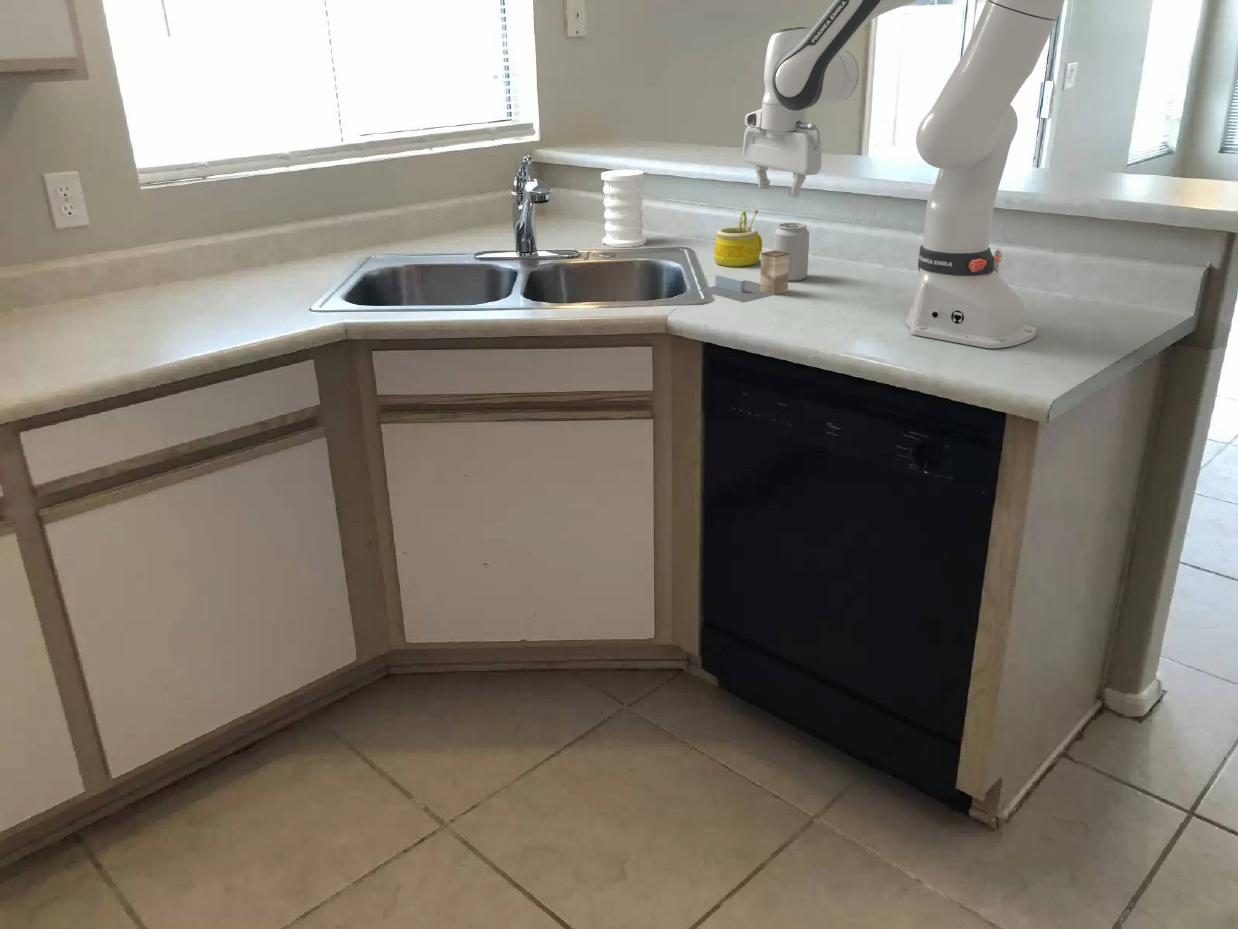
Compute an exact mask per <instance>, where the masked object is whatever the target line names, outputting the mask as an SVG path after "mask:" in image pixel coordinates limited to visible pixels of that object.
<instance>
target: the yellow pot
mask: <svg viewBox="0 0 1238 929" xmlns="http://www.w3.org/2000/svg"><path fill="white" fill-rule="evenodd" d="M758 213H759V211H758V209H755V211H754V215H753V217H752V219H751V221H750V224H749V226H747V222H748V220H747V217H748V216H747V213H746V211H745V210H742V211H741V213H740V215H739V216H740V217H739V226H727V227H722V228H720V229H718V230H717V231H716V233H715V235H716V238H715V243H714V248H713V259H714V262H715V264H718V265H719V266H722V267H727V268H728V267H730V268H743V267H744V268H745V267H748V266H749V267H750V266H752V265H755V264H757V263H758V262H759V260H760V258H761V253H762V251H763V250H762V249H763V240H762V237H761V235H760V234H759V232H758V231H757V229H756V228H753V227H752V225H753V223H754V220H755V218H756V216H757V214H758Z"/></svg>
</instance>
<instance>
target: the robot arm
mask: <svg viewBox="0 0 1238 929" xmlns="http://www.w3.org/2000/svg"><path fill="white" fill-rule="evenodd" d="M917 1H918V0H834V1H833V3H832V4H831V5H830V6H829V7H828V9H827V10H826V11H825V12H824V14H822V16H821V17H820V19H819V20H818V21H817V22H816V23H815V25H814V26H812V27H813V28H811V29H810V28H809V27H806V26H799V27H798V26H795V27H792V28H791V27H790V28H783V29H779V30H777V31H775V32H774V33H773V34H772V35H771V36H770V38H769V40H768V45H767V47H766V48H767V49H766V53H765V61H764V72H763V82H764V85H765V86H764V93H763V94H764V95H763V98H762V100H761V101H762V103H761V108H760V109H757V110H755V111H752V112H750V113H747V114H745V116H744V125H745V126H747V127H746V128H745V131H744V134H743V146H742V155H743V159H744V162H745V163H747V164H751V165H755V173H756V176H757V180H758V189H760V190H768V189H770V183H771V180H770V179H769V178H768V174H767V171H768V169H769V168H770V169H774V170H779V171H784V172H788V173H792V179H793V181H792V185H790V186H788V192H787V193H788V196H789V197H800V195H801V189H802V188H801V187H802V186H803V184H804V183H805V181H806V179H807V177H806V176H813V175H818V174H819V172H820V171H821V169H822V141H821V140H822V139H821V131H820V130H819V129H818V127H817V124H815V123H811V122H810V123H809V122H808V116H809V115H808V114H809V113H808V112H809V108H812V107H819V106H826V105H830V104H836V103H839V102H843V101H844V100H846V99H848V98H849V97H850V96H852V94H853V93H854V91H855V89H856V87H857V84H858V80H859V66H858V63H857V60H856V59H855V58H856V57H854V55H853V54H852V53H851V52H849V51H847V50H845V48H846V47H847V45H848V44H849V43H850V42H851V40H853V38H854V37H855V36H856V35H857V34H858V32H859V31H860V30H861V29H862V28H863V27H864V26H865V25H866V24H868V23H869V22H870V21H872V20H874V19H875V18H877V17H879V16H881V15H883V14H885V13H887V12H890V11H892V10H894V9H898V8H900V7H905V6H907V5H910V4H913V3H915V2H917ZM1064 3H1065V0H986V1H985V3H984V5H983V8H982V11H981V14H980V16H979V18H978V20H977V22H976V25H975V27H974V29H973V33H972V35H971V38H970V39H969V42H968V44H967V46H966V49H965V50H964V52H963V54H962V57H961V58H960V60H959V61H958V63H957V65H956V67H955V69H953V72H952V73H951V75H950V77H949V78H948V80H947V82H946V83H945V85H944V87H943V88H942V90H941V91H940V94H939V95H938V98H937V99H936V101H935V102H934V105H933V106H932V108H931V109H930V110H929V111H928V113H927V114H926V115H925V117H924V118H922V120H921V121H920V124H919V126H918V128H917V131H916V136H915V137H916V138H915V141H916V143H915V144H916V148H917V151H918V154H919V156H920V158H922V160H923V161H924V162H926V163H927V165H930V166H931V167H934V168H936V169H939V171H938V173H937V177H936V178H935V182H934V185H933V189H932V190H931V193H930V194H929V197H928V198H927V202H926V207H925V208H926V209H925V219H924V229H923V230H924V231H923V240H922V244H921V245H920V247H919V253H918V262H917V266H918V267H917V268H918V276H917V277H918V278H917V282H916V288H915V292H914V296H913V300H912V303H911V306H910V309H909V313H908V314H907V317H906V319H905V324H906V326H908V327H909V330H910V331H909V333H910V334H911V335H913V336H919V337H924V338H930V339H936V340H941V341H945V342H946V341H947V342H951V343H956V344H957V343H958V344H962V345H968V346H972V347H980V348H986V349H1002V348H1008V347H1015V346H1017V345H1020V344H1024V343H1026V342H1028V341H1030V340H1032V339H1034V338H1035V337H1036V336H1037V328H1036V327H1034V326H1031V325H1029V324H1025V311H1024V310H1025V309H1024V308H1025V307H1024V302H1023V300H1022V298H1021V297H1020V295H1018V293H1016V291H1014V290H1013V289H1012V288H1011V287H1010V286H1009V285H1008V284H1007V283H1006V281H1005V280H1003V278H1002V276H1000V275H999V274H998V273H997V271H996V267H995V263H999V262H1000V263H1001V261H1002V259H1001V258H1002V257H1003V256H1002V254H998V255H995V256H994V255H993V253H992V250H991V248H990V239H991V238H990V237H991V230H992V225H993V216H994V209H995V204H996V198H997V194H998V190H999V187H1000V184H1001V181H1002V178H1003V175H1004V171H1005V167H1006V164H1007V161H1008V160H1007V159H1008V156H1009V151H1010V148H1011V145H1012V142H1013V140H1014V139H1015V136H1016V133H1017V130H1018V126H1019V123H1018V116H1017V113H1016V110H1015V108H1014V106H1012V104H1011V103H1012V102H1013V100H1014V99H1015V97H1016V96H1017V94H1018V93H1019V91H1020V90H1021V88H1022V86H1023V85H1024V84H1025V82H1026V81H1027V80H1028V78H1029V77H1030V76H1031V75H1032V73H1033V72H1034V71H1035V68H1036V66H1037V64H1038V61H1039V59H1040V57H1041V55H1042V52H1043V50H1044V48H1045V46H1046V43H1047V41H1048V39H1049V36H1050V35H1051V33H1052V31H1053V29H1054V26H1055V24H1056V22H1057V19H1058V18H1059V16H1060V13H1061V10H1062V8H1063V5H1064Z"/></svg>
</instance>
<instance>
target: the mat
mask: <svg viewBox="0 0 1238 929" xmlns="http://www.w3.org/2000/svg"><path fill="white" fill-rule="evenodd" d="M744 280H745V292H742V293H740V292H737V291H733V290H729V289H725V288H721V287H718V286H715V285H713V286H710V287H705V288H701V289H698V291H699V292H704V293H708V294H711V295H714V296H717V297H722V298H725V299H729V300H732V301H737V302H740V303H744V304H745V303H749V302H752V301H756V300H760V299H763V298H768V297H771V296H776V295H777V294H775V295H773V294H769V293H765V292H761V291H760V282H759V283H758V282H754V281H750V280H746V279H744ZM787 292H789V290H788V291H787ZM787 292H786V293H787ZM783 293H785V292H783ZM783 293H782V294H783ZM780 294H781V293H779V294H778V295H780Z"/></svg>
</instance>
